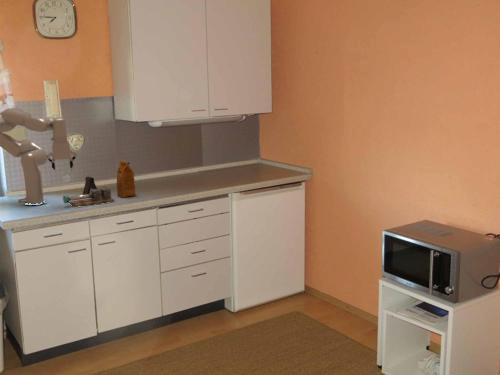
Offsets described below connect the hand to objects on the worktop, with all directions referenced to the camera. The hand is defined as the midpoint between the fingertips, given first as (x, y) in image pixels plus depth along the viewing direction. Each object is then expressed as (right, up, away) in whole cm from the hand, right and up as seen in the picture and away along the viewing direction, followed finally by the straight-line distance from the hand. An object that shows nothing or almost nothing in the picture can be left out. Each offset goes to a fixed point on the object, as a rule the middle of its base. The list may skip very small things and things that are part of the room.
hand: (62, 168), depth 348 cm
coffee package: (+32, -16, +26) cm, 44 cm away
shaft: (+9, -19, +5) cm, 22 cm away
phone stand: (+9, -16, +29) cm, 34 cm away
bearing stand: (+15, -20, +9) cm, 27 cm away
